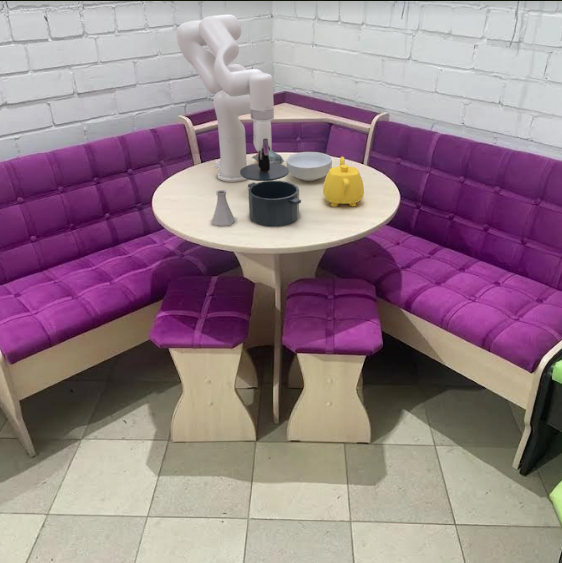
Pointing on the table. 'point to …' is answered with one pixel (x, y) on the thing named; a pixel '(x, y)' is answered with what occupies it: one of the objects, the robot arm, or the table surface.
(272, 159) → the packaged food
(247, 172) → the pot lid
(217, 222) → the flask
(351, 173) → the teapot
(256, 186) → the pot
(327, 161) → the cereal bowl
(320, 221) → the table surface
